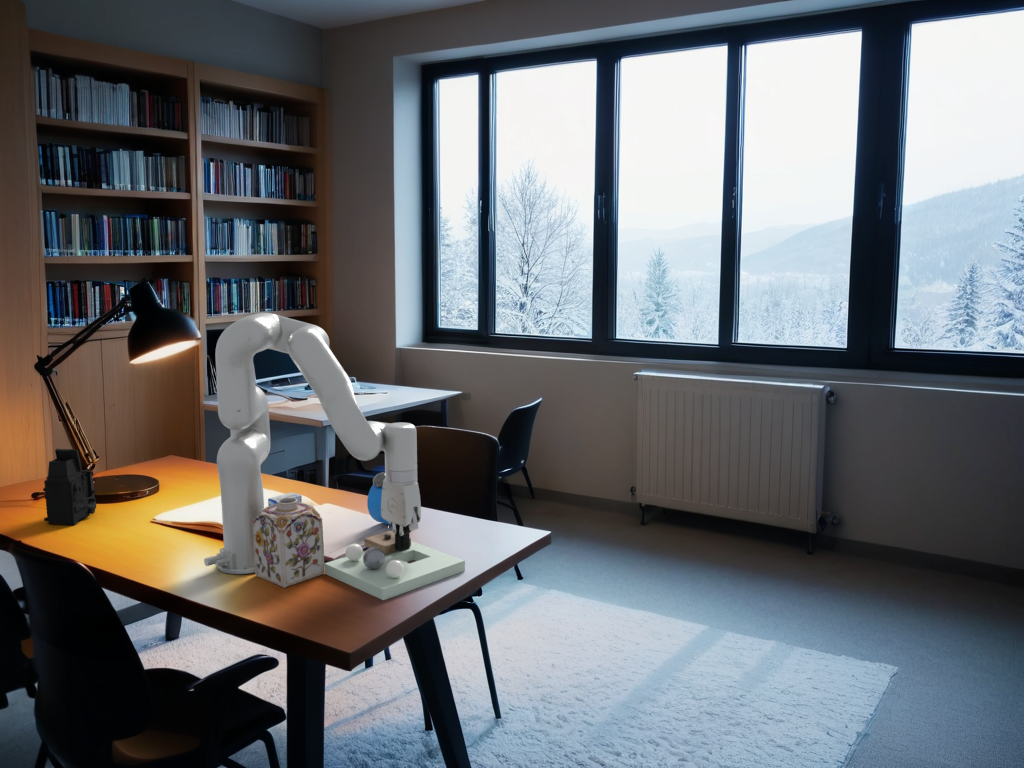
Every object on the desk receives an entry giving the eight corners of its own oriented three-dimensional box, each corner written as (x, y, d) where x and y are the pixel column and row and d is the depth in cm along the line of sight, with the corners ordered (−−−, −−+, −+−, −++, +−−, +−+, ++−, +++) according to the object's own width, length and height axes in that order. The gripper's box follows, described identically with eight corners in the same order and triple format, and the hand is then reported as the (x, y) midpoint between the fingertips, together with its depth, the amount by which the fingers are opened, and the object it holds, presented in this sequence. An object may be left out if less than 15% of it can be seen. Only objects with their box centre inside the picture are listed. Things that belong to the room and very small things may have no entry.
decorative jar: (295, 562, 207) (293, 490, 204) (326, 574, 200) (323, 499, 197) (252, 576, 198) (249, 501, 195) (282, 589, 191) (279, 511, 188)
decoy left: (352, 564, 199) (352, 548, 198) (342, 560, 201) (342, 544, 201) (366, 560, 201) (366, 544, 201) (356, 556, 204) (356, 540, 204)
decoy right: (393, 582, 188) (393, 564, 188) (382, 577, 191) (381, 560, 190) (407, 577, 191) (407, 560, 191) (396, 572, 194) (396, 555, 193)
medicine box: (293, 522, 237) (291, 491, 236) (303, 525, 235) (302, 494, 233) (268, 529, 231) (267, 498, 230) (278, 532, 229) (277, 501, 227)
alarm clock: (382, 531, 229) (381, 477, 227) (366, 527, 233) (365, 473, 231) (416, 519, 240) (415, 467, 237) (400, 515, 243) (399, 464, 241)
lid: (384, 554, 205) (384, 542, 204) (364, 546, 210) (364, 534, 210) (411, 546, 210) (410, 534, 210) (390, 538, 216) (390, 527, 215)
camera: (105, 511, 246) (100, 443, 243) (76, 526, 233) (71, 454, 230) (72, 510, 247) (66, 442, 244) (42, 525, 234) (36, 453, 231)
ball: (372, 574, 193) (371, 553, 192) (358, 568, 196) (358, 547, 195) (389, 568, 196) (389, 547, 196) (376, 563, 200) (375, 542, 199)
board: (383, 600, 185) (383, 589, 184) (324, 573, 200) (324, 563, 199) (464, 570, 202) (464, 560, 202) (405, 548, 217) (405, 538, 217)
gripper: (369, 472, 206) (370, 545, 209) (409, 484, 196) (410, 561, 198) (394, 466, 211) (395, 538, 214) (434, 478, 201) (434, 553, 204)
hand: (402, 549), depth 206 cm, fingers closed
